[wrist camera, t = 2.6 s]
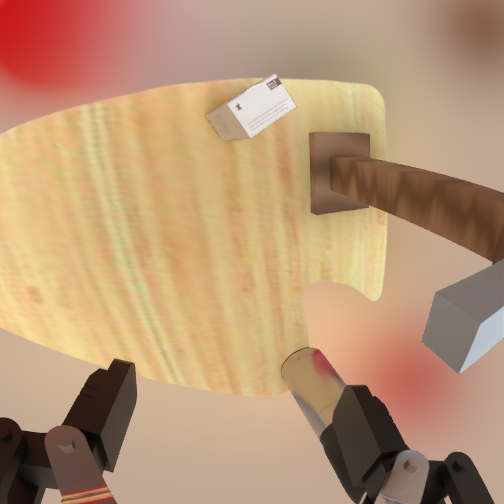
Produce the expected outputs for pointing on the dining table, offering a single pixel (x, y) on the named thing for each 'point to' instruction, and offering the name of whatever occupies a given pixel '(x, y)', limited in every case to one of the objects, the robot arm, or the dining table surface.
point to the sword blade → (467, 318)
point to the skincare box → (251, 110)
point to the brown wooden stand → (404, 193)
